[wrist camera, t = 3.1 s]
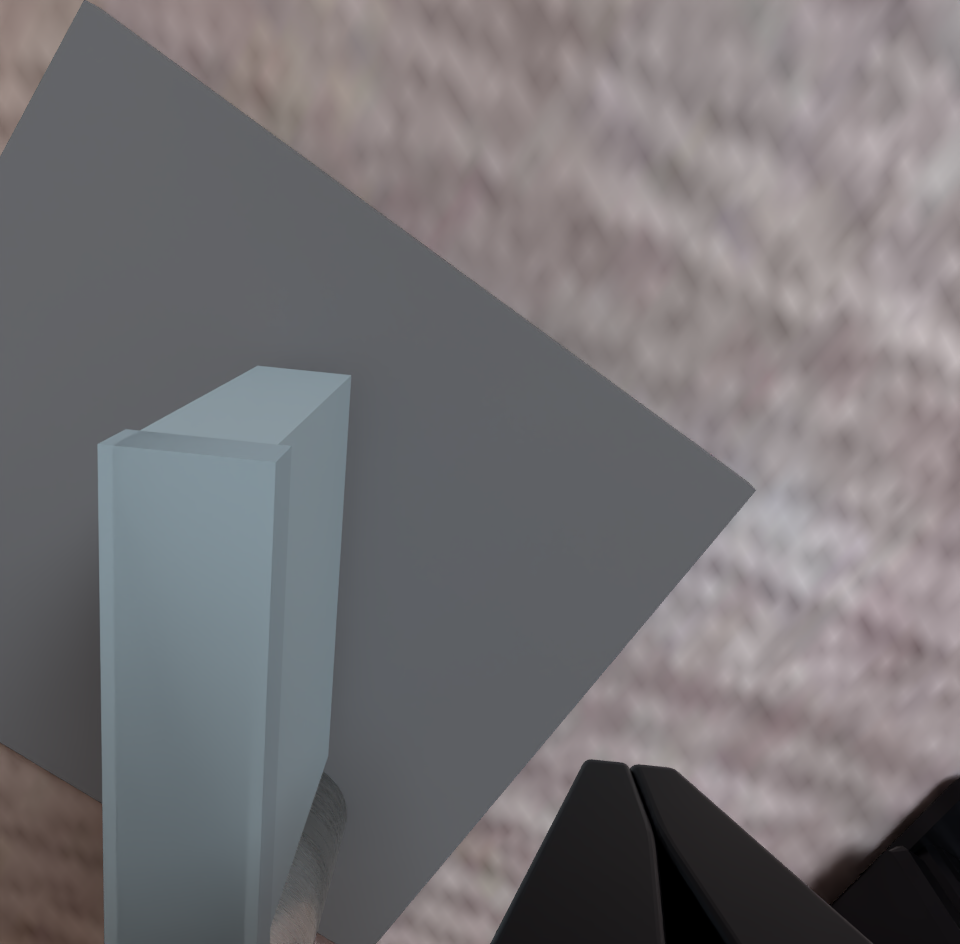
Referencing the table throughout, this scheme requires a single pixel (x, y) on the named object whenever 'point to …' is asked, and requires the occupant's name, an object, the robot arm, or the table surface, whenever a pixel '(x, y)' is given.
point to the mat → (369, 461)
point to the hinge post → (311, 868)
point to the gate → (217, 651)
